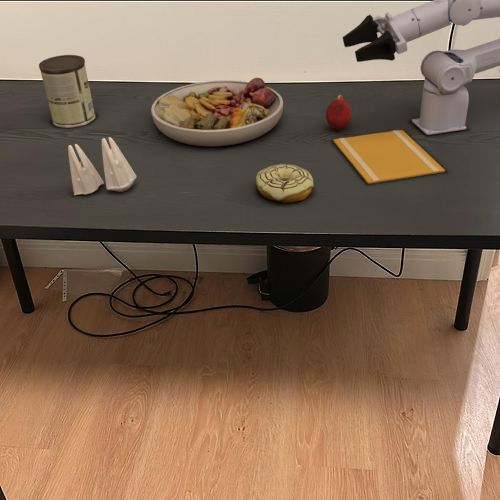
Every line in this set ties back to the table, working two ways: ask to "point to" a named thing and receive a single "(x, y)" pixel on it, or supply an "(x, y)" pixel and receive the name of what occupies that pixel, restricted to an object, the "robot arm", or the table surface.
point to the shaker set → (88, 178)
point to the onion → (339, 113)
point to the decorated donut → (284, 183)
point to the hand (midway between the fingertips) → (349, 49)
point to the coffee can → (67, 90)
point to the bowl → (218, 112)
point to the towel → (387, 156)
